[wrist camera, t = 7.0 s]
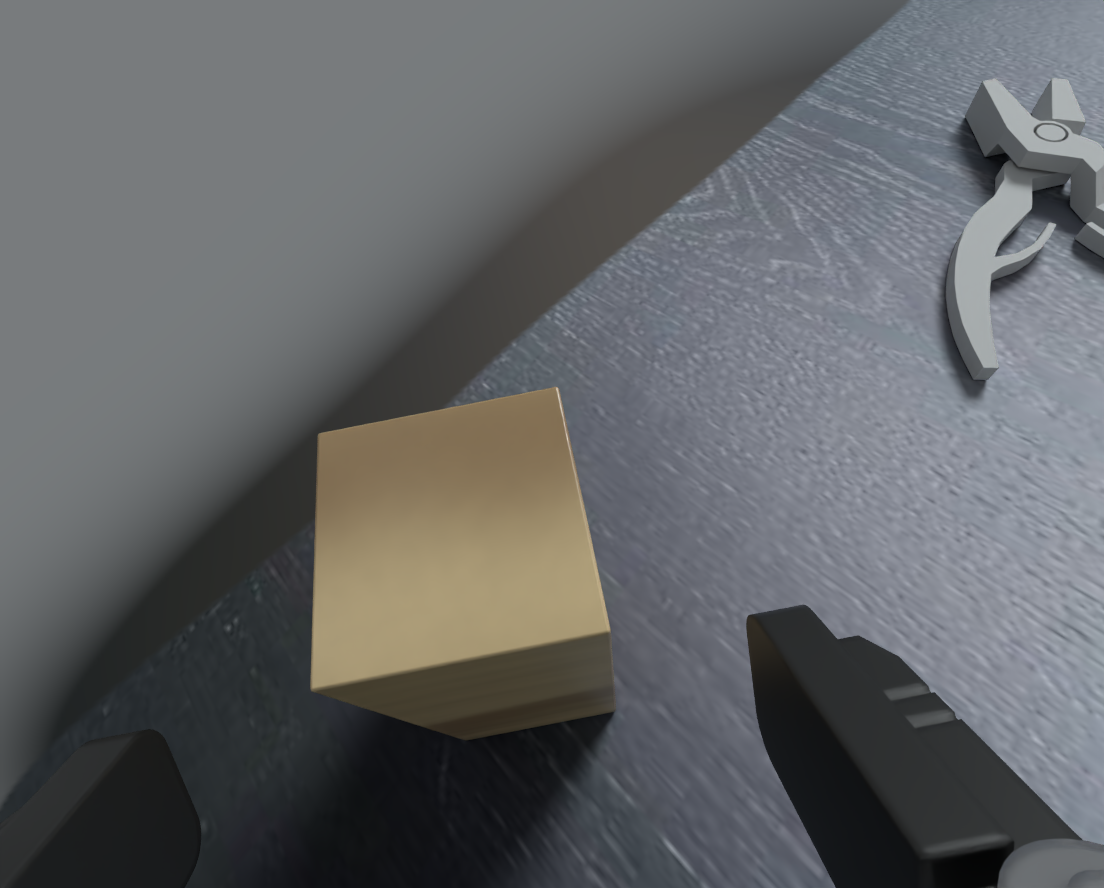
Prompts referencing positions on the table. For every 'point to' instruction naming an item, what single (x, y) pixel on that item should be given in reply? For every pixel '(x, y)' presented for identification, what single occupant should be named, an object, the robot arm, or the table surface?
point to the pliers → (1019, 202)
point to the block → (459, 571)
